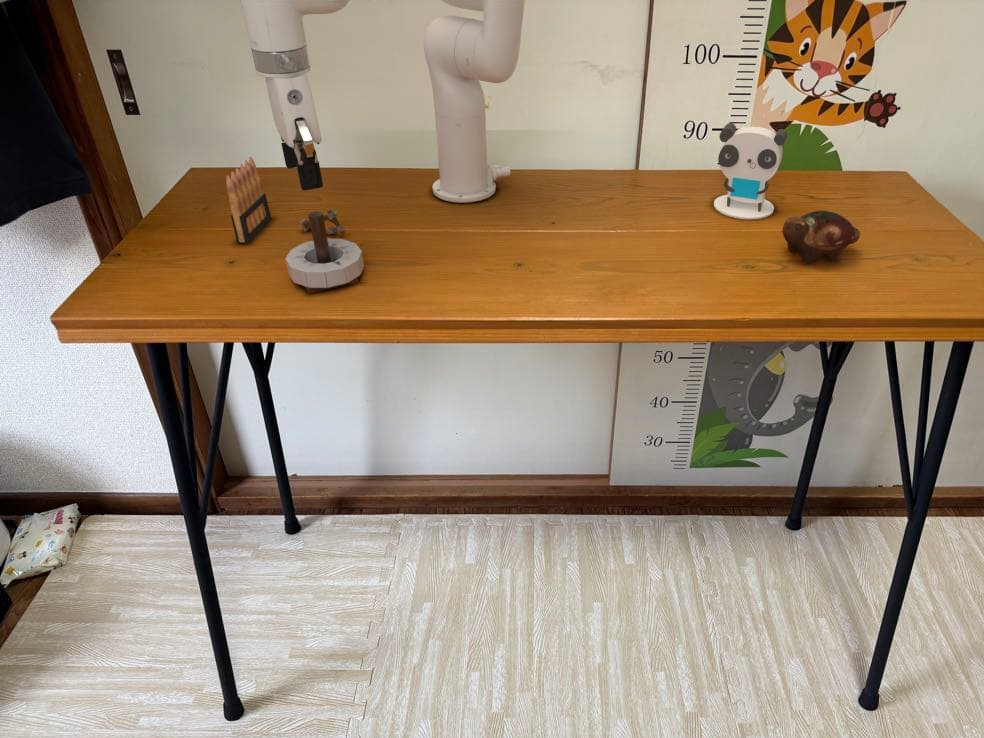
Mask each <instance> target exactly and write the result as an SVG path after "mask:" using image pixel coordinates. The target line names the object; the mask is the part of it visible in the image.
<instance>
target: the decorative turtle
mask: <svg viewBox="0 0 984 738" xmlns="http://www.w3.org/2000/svg"><path fill="white" fill-rule="evenodd" d="M781 232H782V236H783V238H784V240H785V241H786V246H787V250H788V252H790V253H797V252H799V254H800V256H801V257H802V260H803V262H804V263H805V264H806V265H810V264H811V265H812V264H813V263H815V262H816V261H817V260H819V259H820V258H821V257H824V258H825V259H826V261H828V262H830V263H831V262H834V261H835V260H836V259H837V258H838V257H839V256H840V255H841V254H842V252H843V251H844V250H845V249H846V248H847V247H848V246H850V245H853V244H855V243H856V242H857V241H858V240H859V239H860V237H861V232H860V230H859V229H858V228H857V227H854V226H853V224H852V223H851V222H850V220H848V219H847V218H846V217H844V216H842V215H840V214H838V213H837V212H833V211H827V210H815V211H811V212H808V213H805V214H803V215H801V216H798V215H793V216H790V217H788V218H787V219H786V221H784V223H783V226H782V229H781Z"/></svg>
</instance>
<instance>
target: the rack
mask: <svg viewBox="0 0 984 738" xmlns="http://www.w3.org/2000/svg"><path fill="white" fill-rule="evenodd" d="M323 215H324V212H322V211H319V210H315V211H311V212H309V213H308V220H309V221H310V226H311V228H310V230H311V236H312V241H313V242H314V247H315V252H316V258H317V264H325V263H330V262H334V261H331V256H330V250H329V244H328V239H329V238H328V233H326V231H327V227H326V223H325V222H326V221H325V222H324V216H323ZM358 277H359V276H358ZM358 277H356V278H355V279H353V280H352V281H350V282H348V283H346V284H342V285H337V286H333V287H329V288H328V287H327V288H309V287H305V286H304V288H305V290H306V291H307V293H308V295H310V294H311V295H312V294H315V293H319V292H323V291H329V290H332V289H336V288H337V289H338V288H342V287H346V286H351V285H355V284H359V278H358Z"/></svg>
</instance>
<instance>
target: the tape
mask: <svg viewBox="0 0 984 738" xmlns="http://www.w3.org/2000/svg"><path fill="white" fill-rule="evenodd" d="M327 239H328V244H329V250H330V256H331V261H334V262H330V263H325V264H317V258H316V252H315V247H314V242H313V240H310V241H305V242H302V243H301V244H299V245H297V246H295V247H293V248H291V249H290V250H289V252H288V254H287V255H286V257H285V264H286V268H287V271H288V273H287V274H288V275H289V277H290V279H291V280H292V282H293V283H295V284H296V285H297V284H298V285H300V286H303V287H304V288H305V287H309V288H327V287H328V288H329V287H333V286H337V285H342V284H346V283H348V282H350V281H352V280H353V279H355V278H356V277H360V276H361V275H362V273H363V270H364V267H365V263H364V258H363V251H362V249H361V248H360V247H359V245H358V244H357V243H356V242H352V241H350V240H347V239H343V238H327Z"/></svg>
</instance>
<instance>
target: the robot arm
mask: <svg viewBox="0 0 984 738" xmlns="http://www.w3.org/2000/svg"><path fill="white" fill-rule="evenodd" d="M350 1H351V0H240V2H241V7H242V12H243V17H244V21H245V25H246V30H247V31H246V32H247V34H248V39H249V44H250V49H251V54H252V59H253V64H254V68H255V73H256V75H258V76H260V77H263V78H264V79H265V83H266V89H267V94H268V98H269V103H270V108H271V113H272V117H273V122H274V124H275V128H276V130H277V132H278V134H279V137H280V140H281V143H280V144H281V149H282V154H283V159H284V162H285V163H284V164H285V167H286V168H287V169H297V175H298V181H299V185H300V189H301V190H302V191H305V192H306V191H310V190H317V189H321V188H323V186H324V183H323V177H322V172H321V171H322V170H321V165H320V161H319V157H318V154H317V151H316V147H315V145H314V144H316V145H320V144H321V143H322V140H323V138H322V134H321V129H320V125H319V119H318V115H317V111H316V105H315V101H314V98H313V93H312V90H311V85H310V82H309V79H308V76H307V73H309V72H310V71H311V70H312V68H311V61H310V56H309V50H308V45H307V39H306V38H307V37H306V33H305V26H304V21H303V17H304V16H307V15H328V14H330V15H331V14H334V13H337V12H339V11H341V10H342V9H344V8H345V7H346V6H347V5H348V4H349V2H350ZM441 1H442V2H443V3H444V4H446V5H448V6H451V7H453V8H459V9H464V10H468V11H475V12H482V13H483V20H481V19H474V18H468V17H463V16H457V15H444V16H440V17H437V18H435V19H434V20H432V21H431V23H429V25H428V26H427V28H426V29H425V33H424V37H423V51H424V57H425V60H426V61H425V62H426V65H427V68H428V72H429V77H430V81H431V87H432V95H433V109H434V119H435V120H434V121H435V122H434V123H435V131H436V132H435V133H436V148H437V160H438V173H439V178H438V179H437V180H435V181H434V182H433V183H432V194H433V195H434V196H435V197H437V198H438V199H440V200H442V201H446V202H450V203H461V204H462V203H463V204H464V203H465V204H467V203H476V202H480V201H483V200H486V199H488V198H490V197H492V196H493V195H494V194H495V193H496V190H497V184H496V182H495V181H497V179H499V178H507V177H510V176H511V168H510V167H509V166H503V167H500V166H499V164H493V165H488V147H487V146H488V145H487V118H486V116H487V115H486V114H487V113H486V99H485V94H484V89H483V87H482V85H481V82H486V83H491V84H501V83H505V82H507V81H508V80H510V78H511V77H512V75H513V74H514V72H515V69H516V68H517V66H518V65H517V64H518V60H519V55H520V47H521V40H522V39H521V38H522V30H523V29H522V28H523V22H524V21H523V20H524V10H525V2H526V1H525V0H441Z"/></svg>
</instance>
